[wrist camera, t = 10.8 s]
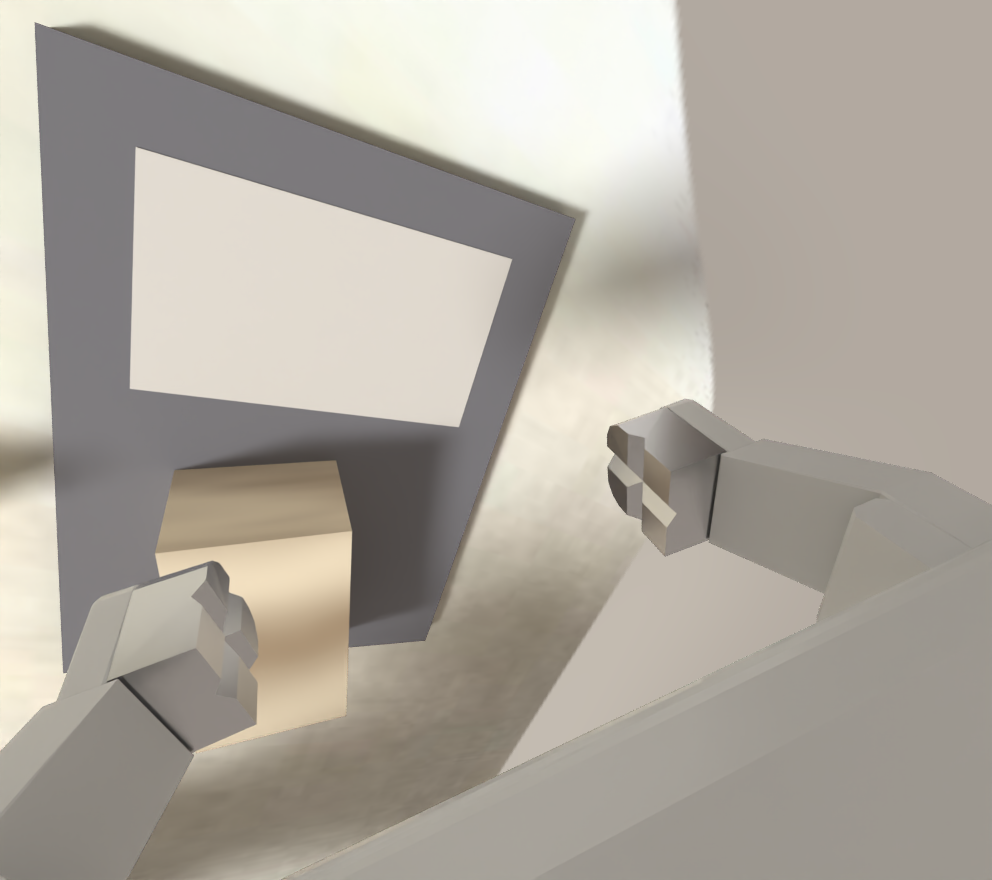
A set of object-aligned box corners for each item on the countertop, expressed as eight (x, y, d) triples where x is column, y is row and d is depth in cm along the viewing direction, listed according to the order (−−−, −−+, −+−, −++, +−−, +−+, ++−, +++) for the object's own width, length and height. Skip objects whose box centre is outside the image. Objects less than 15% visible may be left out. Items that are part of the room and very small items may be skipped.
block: (333, 632, 23) (346, 715, 20) (205, 656, 21) (195, 753, 18) (335, 460, 19) (351, 531, 15) (174, 470, 17) (154, 553, 14)
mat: (421, 627, 26) (425, 641, 25) (69, 654, 20) (62, 674, 19) (564, 215, 18) (576, 219, 17) (47, 27, 11) (34, 21, 11)
